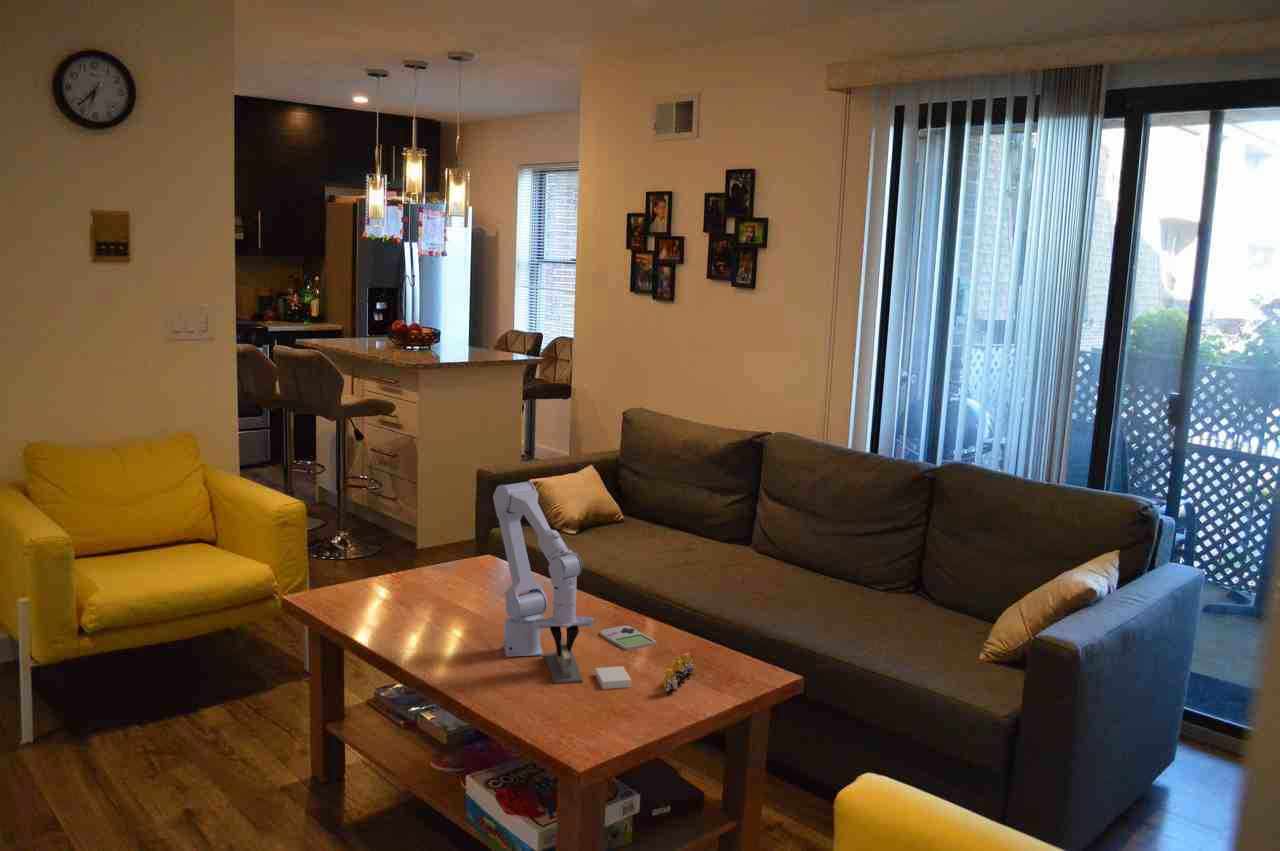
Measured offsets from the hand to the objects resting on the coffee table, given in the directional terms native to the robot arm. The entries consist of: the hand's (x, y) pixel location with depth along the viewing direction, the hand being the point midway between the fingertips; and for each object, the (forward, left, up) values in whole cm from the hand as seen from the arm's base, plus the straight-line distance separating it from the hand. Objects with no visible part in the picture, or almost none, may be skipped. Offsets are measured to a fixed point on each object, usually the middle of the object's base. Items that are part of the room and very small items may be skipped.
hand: (563, 655), depth 260 cm
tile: (+11, -5, -3) cm, 12 cm away
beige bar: (0, 0, -3) cm, 3 cm away
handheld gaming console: (+20, +19, -4) cm, 28 cm away
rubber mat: (0, 0, -3) cm, 3 cm away
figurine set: (+26, -14, -4) cm, 30 cm away
